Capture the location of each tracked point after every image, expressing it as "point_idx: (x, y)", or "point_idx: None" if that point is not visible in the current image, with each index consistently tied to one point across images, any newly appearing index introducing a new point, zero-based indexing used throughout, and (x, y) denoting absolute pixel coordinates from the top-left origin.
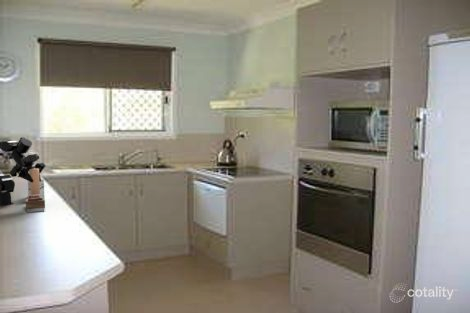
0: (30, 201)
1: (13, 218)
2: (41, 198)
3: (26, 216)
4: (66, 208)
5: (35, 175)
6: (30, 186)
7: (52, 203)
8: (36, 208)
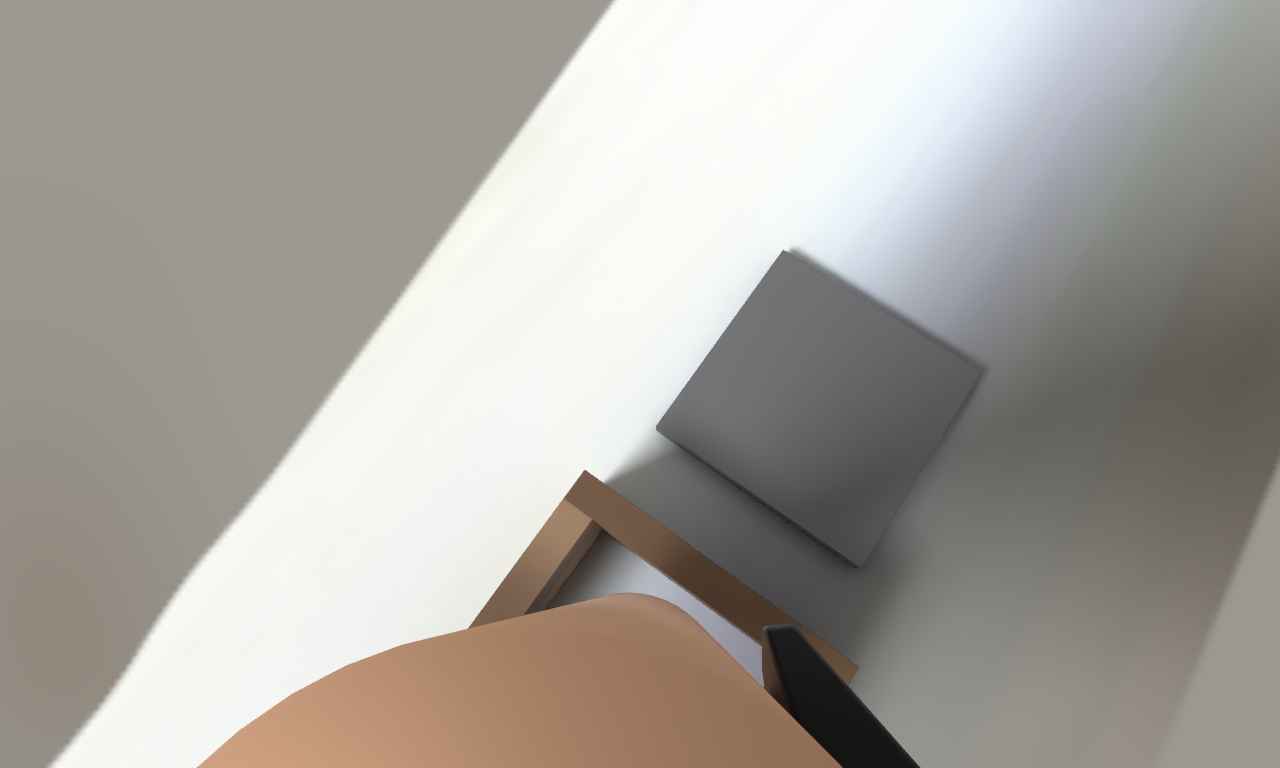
0: (785, 616)
1: (1255, 219)
2: None
3: (1089, 191)
4: (485, 198)
5: (679, 630)
6: None
7: None
8: (753, 475)
